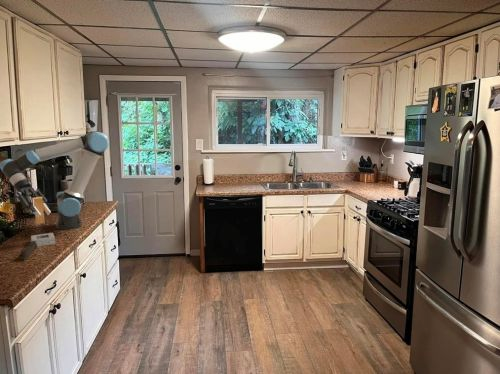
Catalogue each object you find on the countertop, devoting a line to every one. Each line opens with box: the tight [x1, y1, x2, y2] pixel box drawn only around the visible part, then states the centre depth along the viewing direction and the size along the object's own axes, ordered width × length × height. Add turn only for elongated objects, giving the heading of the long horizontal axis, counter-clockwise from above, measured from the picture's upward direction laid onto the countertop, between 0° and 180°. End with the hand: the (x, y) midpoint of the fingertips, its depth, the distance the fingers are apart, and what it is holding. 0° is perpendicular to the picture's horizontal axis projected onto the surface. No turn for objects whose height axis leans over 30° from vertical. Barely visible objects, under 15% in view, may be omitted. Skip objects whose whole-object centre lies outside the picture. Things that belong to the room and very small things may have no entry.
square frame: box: [30, 232, 56, 247], centre depth 210 cm, size 11×11×4 cm
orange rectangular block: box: [33, 197, 45, 225], centre depth 207 cm, size 4×4×14 cm
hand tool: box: [21, 242, 38, 261], centre depth 191 cm, size 19×4×5 cm, turn 15°
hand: (44, 214), depth 206 cm, fingers closed on orange rectangular block, 5 cm apart
